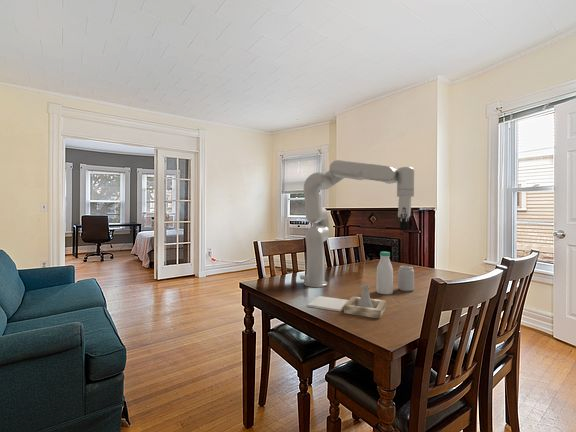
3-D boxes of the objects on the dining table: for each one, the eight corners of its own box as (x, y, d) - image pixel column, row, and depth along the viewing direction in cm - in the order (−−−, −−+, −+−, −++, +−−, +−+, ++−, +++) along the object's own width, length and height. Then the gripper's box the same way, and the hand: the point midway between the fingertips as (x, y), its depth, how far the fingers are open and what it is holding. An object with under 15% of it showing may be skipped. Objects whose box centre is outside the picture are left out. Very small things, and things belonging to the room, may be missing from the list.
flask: (354, 307, 129) (354, 284, 129) (371, 307, 130) (371, 283, 129) (359, 313, 122) (359, 288, 122) (377, 313, 123) (377, 288, 122)
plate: (307, 306, 130) (307, 304, 130) (318, 297, 143) (318, 295, 143) (339, 311, 124) (339, 309, 124) (348, 301, 137) (348, 300, 137)
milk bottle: (393, 295, 147) (394, 253, 146) (376, 294, 149) (377, 252, 148) (391, 291, 155) (392, 251, 154) (375, 290, 156) (376, 250, 155)
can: (413, 288, 159) (413, 265, 159) (414, 292, 152) (414, 268, 152) (398, 287, 161) (398, 264, 161) (398, 291, 154) (398, 267, 154)
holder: (343, 313, 123) (344, 305, 123) (352, 303, 135) (352, 296, 135) (380, 318, 117) (380, 310, 116) (385, 307, 129) (386, 300, 129)
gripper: (398, 194, 156) (398, 228, 156) (394, 193, 140) (394, 230, 140) (415, 194, 152) (414, 228, 153) (412, 192, 137) (412, 231, 137)
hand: (404, 229), depth 147 cm, fingers open, 9 cm apart
